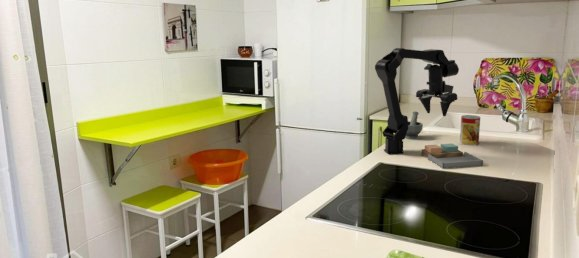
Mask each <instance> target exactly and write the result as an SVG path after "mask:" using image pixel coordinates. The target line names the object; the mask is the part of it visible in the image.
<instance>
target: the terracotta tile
mask: <svg viewBox="0 0 579 258" xmlns="http://www.w3.org/2000/svg"><path fill="white" fill-rule="evenodd" d="M424 149H425V151H427V152H429V153H440V152H442V147H441V145H438V144H427V145H424Z"/></svg>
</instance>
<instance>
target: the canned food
mask: <svg viewBox="0 0 579 258" xmlns="http://www.w3.org/2000/svg"><path fill="white" fill-rule="evenodd" d="M480 127H481V116H479V115H475V114H464V115H461V117H460V132H459V143H460V144H461V145H466V146H477V145H479V142H480V132H481V131H480V130H481V129H480Z"/></svg>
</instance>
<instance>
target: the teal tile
mask: <svg viewBox="0 0 579 258" xmlns="http://www.w3.org/2000/svg"><path fill="white" fill-rule="evenodd" d="M440 147H442V150H444V151H445V152H454V151H458V150H459V145H456V144H454V143H440Z"/></svg>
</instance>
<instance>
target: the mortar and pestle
mask: <svg viewBox="0 0 579 258" xmlns="http://www.w3.org/2000/svg"><path fill="white" fill-rule="evenodd" d="M418 116H419V112H418V111H415V110H414V111H412V116H411V119H410V121H408V123H409V125H408V131H407V133H406V136H405V139H407V140H418V139H419V134H421V133H422V130H423V123H422V122H419V121H418Z"/></svg>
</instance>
